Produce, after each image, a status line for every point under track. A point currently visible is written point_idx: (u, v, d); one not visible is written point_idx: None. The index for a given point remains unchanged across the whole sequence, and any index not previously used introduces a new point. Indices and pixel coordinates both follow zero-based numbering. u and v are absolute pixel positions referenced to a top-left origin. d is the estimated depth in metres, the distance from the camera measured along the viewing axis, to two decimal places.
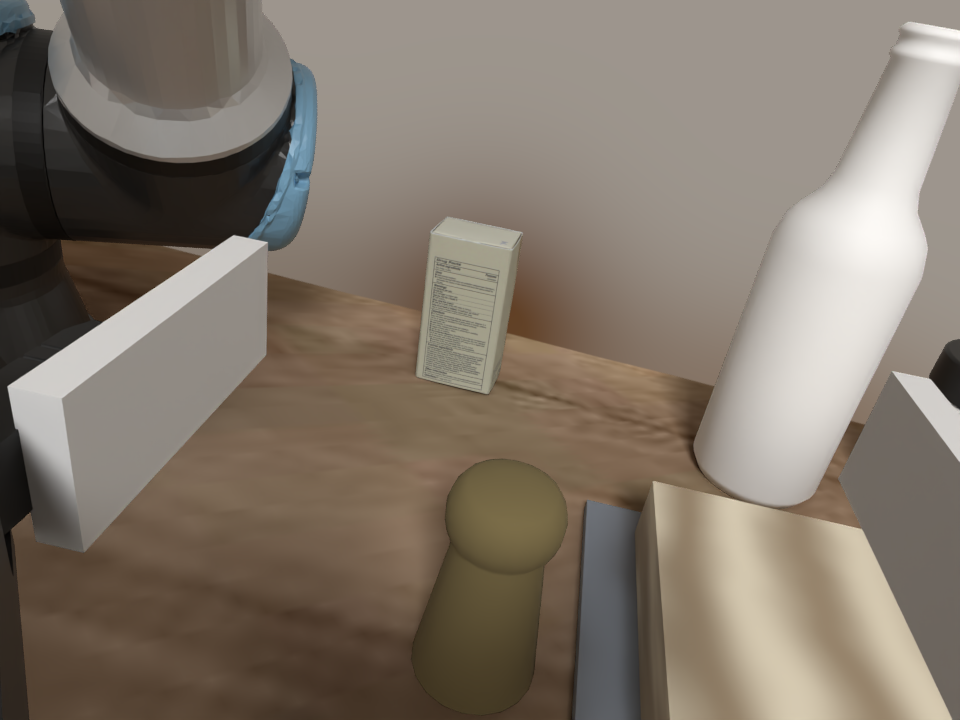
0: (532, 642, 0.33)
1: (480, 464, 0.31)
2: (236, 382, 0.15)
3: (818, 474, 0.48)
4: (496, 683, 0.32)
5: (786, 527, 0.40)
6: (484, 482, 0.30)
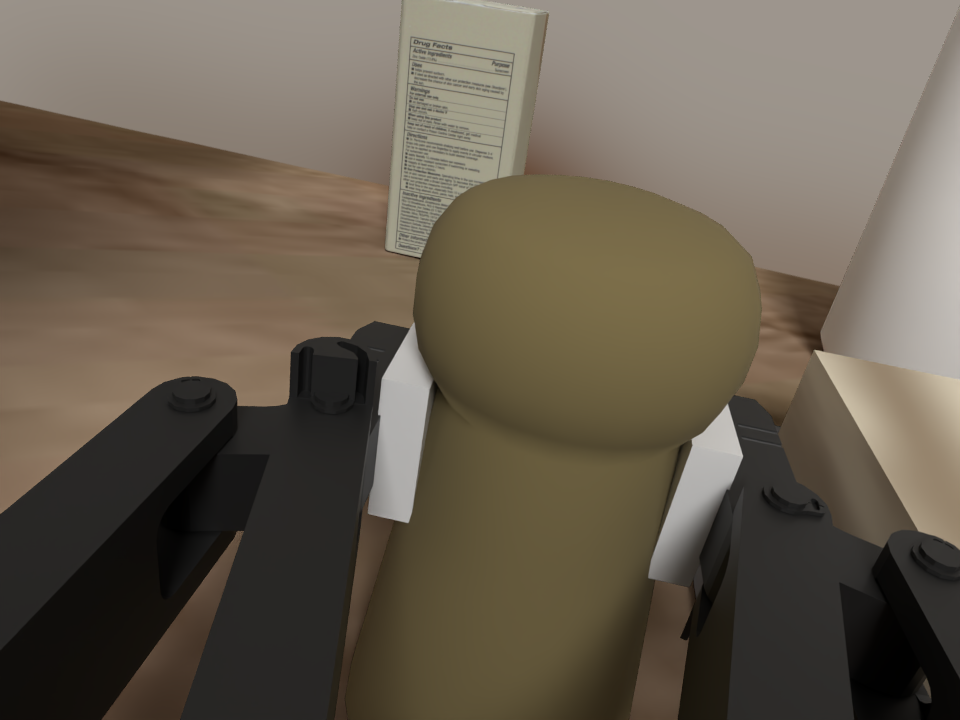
0: (638, 657, 0.13)
1: (509, 176, 0.11)
2: None
3: None
4: None
5: None
6: (525, 190, 0.10)
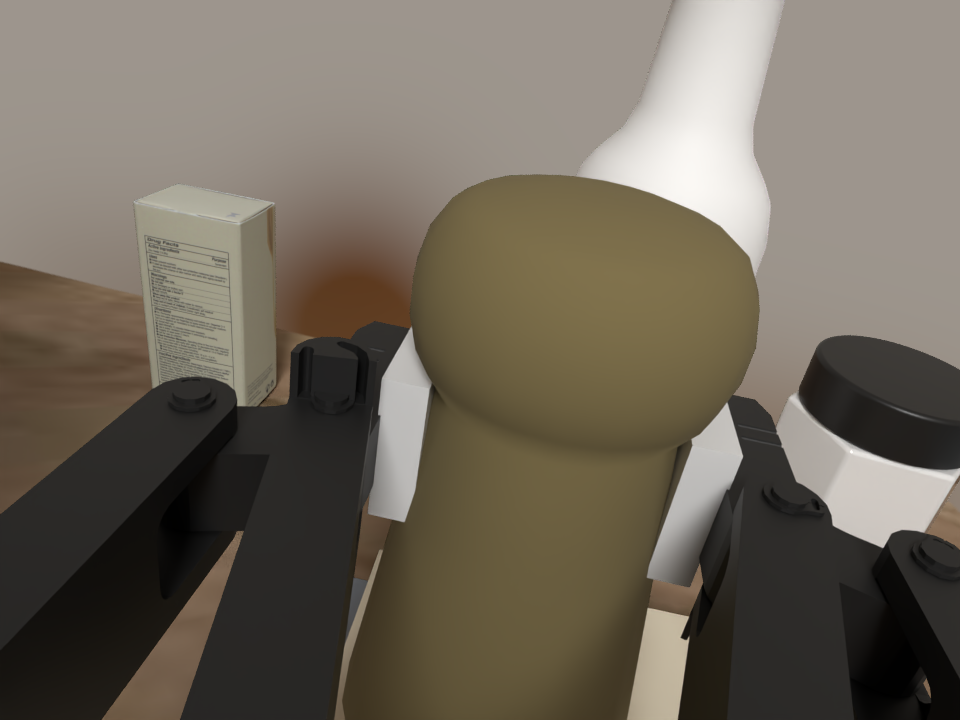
0: (636, 659, 0.13)
1: (506, 176, 0.11)
2: None
3: None
4: None
5: None
6: (522, 190, 0.10)
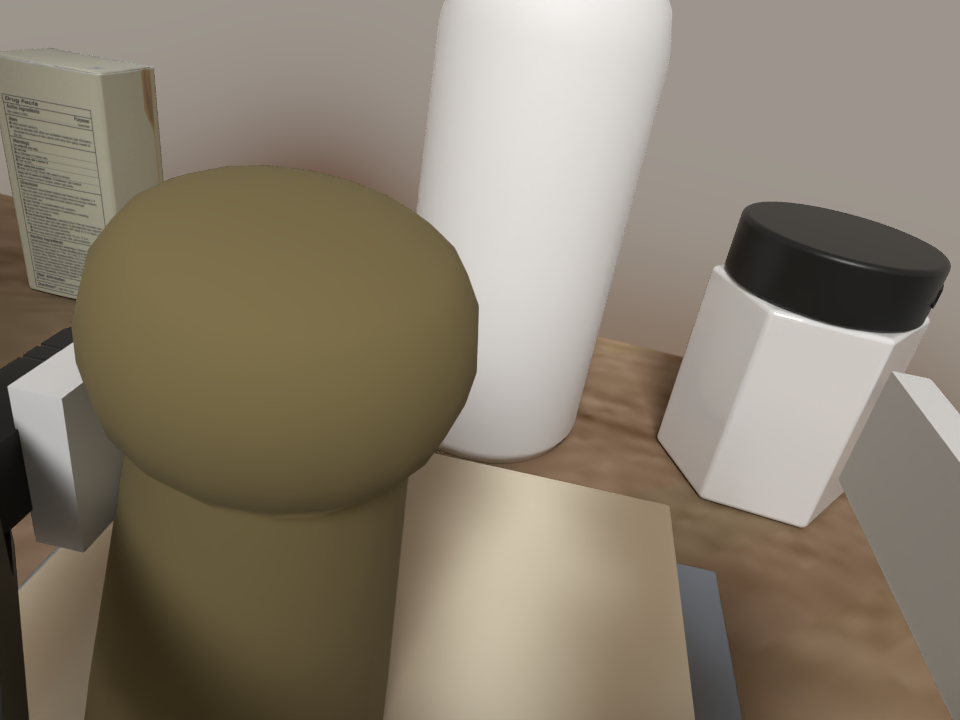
0: (367, 675, 0.13)
1: (223, 167, 0.10)
2: None
3: (551, 407, 0.31)
4: None
5: None
6: (200, 200, 0.09)
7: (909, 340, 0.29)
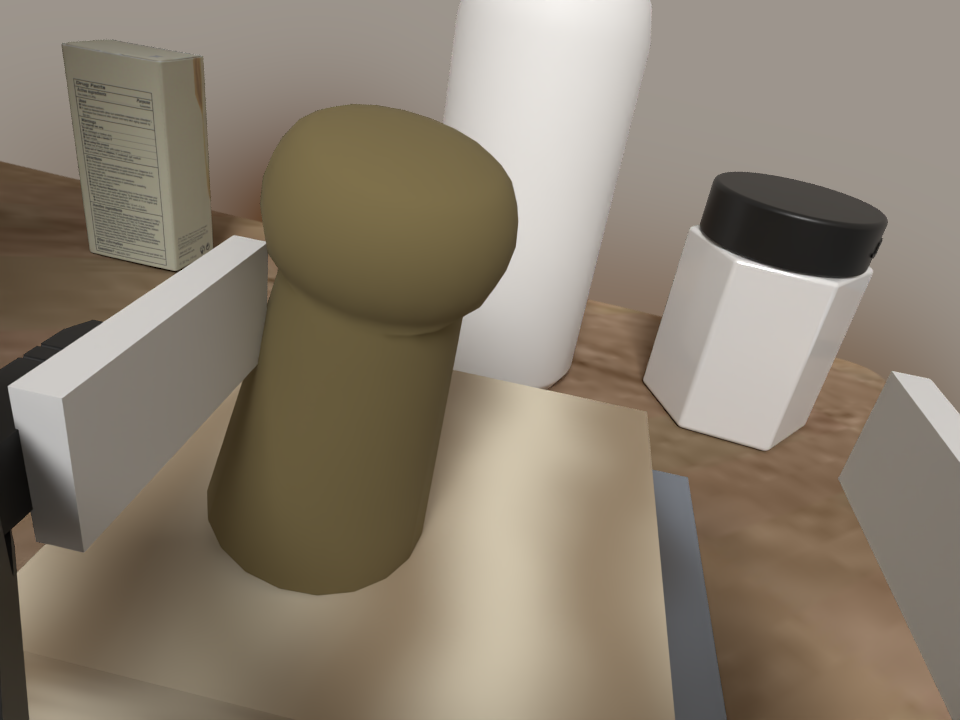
0: (422, 478, 0.18)
1: None
2: (236, 382, 0.15)
3: (550, 346, 0.36)
4: (346, 543, 0.17)
5: None
6: (347, 123, 0.13)
7: (853, 286, 0.34)
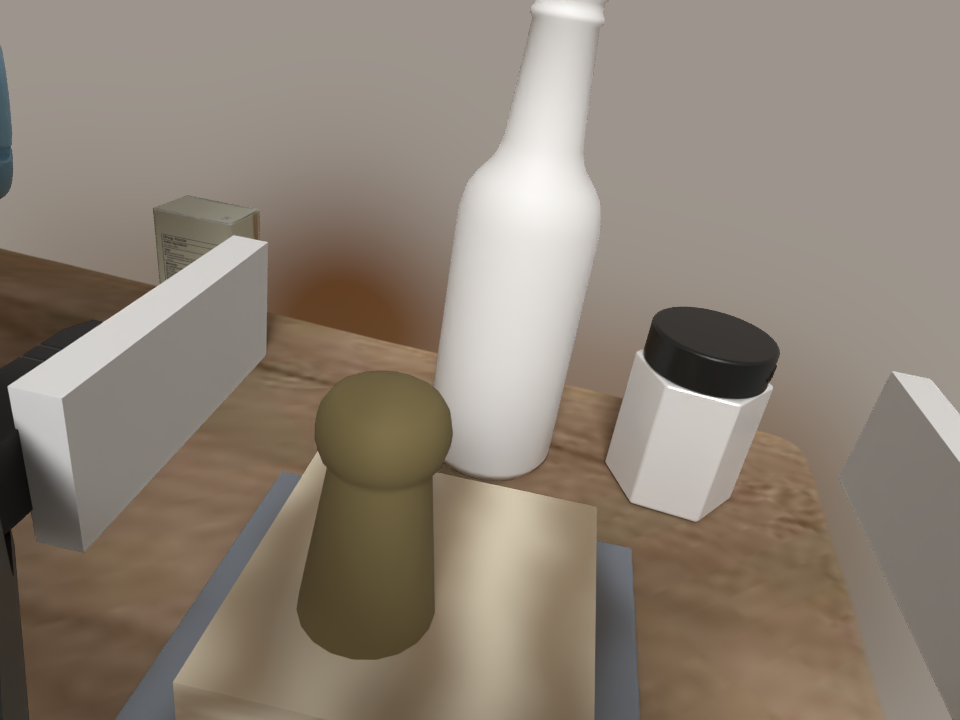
0: (427, 573, 0.30)
1: (352, 376, 0.28)
2: (236, 382, 0.15)
3: (531, 444, 0.48)
4: (388, 621, 0.29)
5: (442, 490, 0.39)
6: (355, 391, 0.26)
7: (755, 402, 0.45)
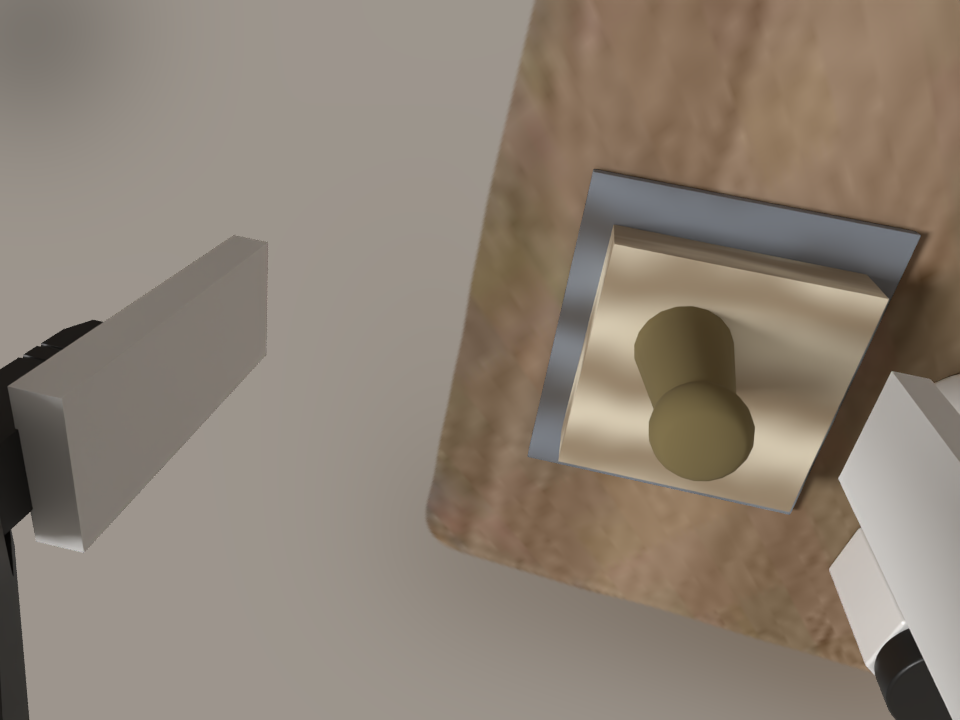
0: None
1: (732, 424, 0.35)
2: (236, 382, 0.15)
3: None
4: None
5: (814, 402, 0.45)
6: (702, 429, 0.35)
7: None
